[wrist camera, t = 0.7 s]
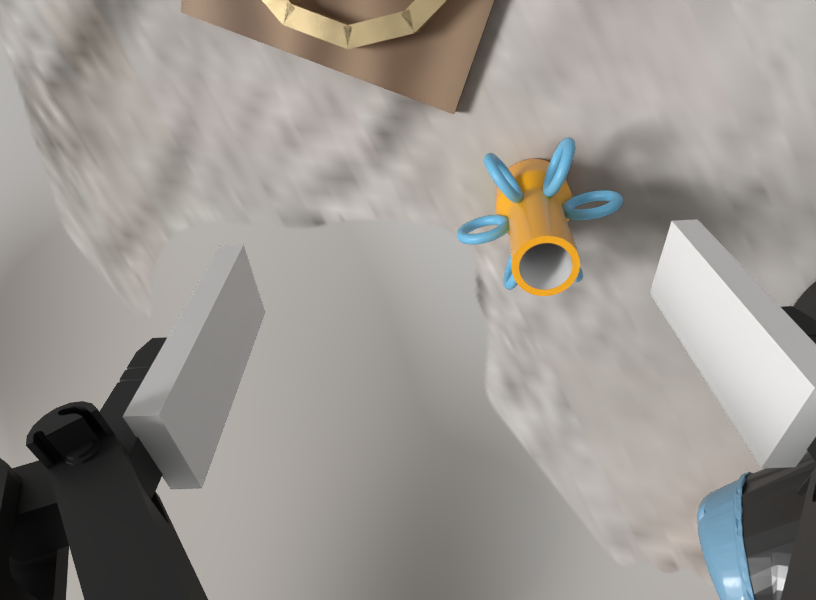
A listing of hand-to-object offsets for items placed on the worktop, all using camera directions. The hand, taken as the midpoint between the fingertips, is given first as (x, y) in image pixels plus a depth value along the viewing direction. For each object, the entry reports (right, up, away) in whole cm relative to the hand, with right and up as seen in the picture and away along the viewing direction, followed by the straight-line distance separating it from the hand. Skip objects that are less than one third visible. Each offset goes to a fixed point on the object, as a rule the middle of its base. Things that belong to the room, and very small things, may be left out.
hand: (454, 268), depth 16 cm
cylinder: (+9, +8, +27) cm, 30 cm away
